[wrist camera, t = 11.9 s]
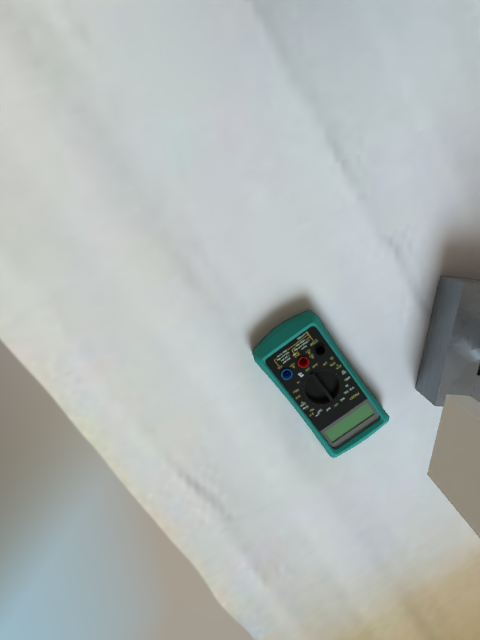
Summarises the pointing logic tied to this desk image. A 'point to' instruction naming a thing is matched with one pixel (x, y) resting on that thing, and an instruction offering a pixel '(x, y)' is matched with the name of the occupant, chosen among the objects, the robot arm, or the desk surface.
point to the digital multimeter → (320, 383)
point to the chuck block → (452, 342)
